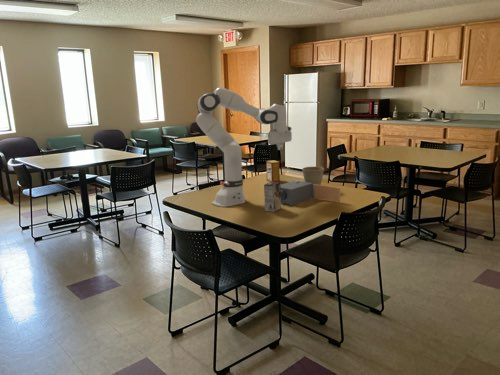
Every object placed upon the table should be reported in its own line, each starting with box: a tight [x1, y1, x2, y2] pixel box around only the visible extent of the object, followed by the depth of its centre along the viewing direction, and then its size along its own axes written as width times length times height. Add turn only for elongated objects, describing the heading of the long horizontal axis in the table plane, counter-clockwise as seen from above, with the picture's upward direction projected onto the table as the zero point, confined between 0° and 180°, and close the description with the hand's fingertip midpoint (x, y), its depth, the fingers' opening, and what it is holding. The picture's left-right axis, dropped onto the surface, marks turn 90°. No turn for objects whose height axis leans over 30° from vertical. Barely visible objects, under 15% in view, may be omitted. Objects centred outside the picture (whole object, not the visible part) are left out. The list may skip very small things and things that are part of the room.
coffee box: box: [263, 182, 282, 213], centre depth 242 cm, size 9×6×16 cm
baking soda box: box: [265, 160, 281, 183], centre depth 319 cm, size 10×6×16 cm
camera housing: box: [280, 180, 314, 206], centre depth 262 cm, size 24×14×11 cm, turn 135°
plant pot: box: [301, 166, 325, 185], centre depth 284 cm, size 15×15×16 cm
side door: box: [312, 184, 341, 203], centre depth 258 cm, size 20×2×9 cm, turn 48°
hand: (280, 149), depth 270 cm, fingers closed
